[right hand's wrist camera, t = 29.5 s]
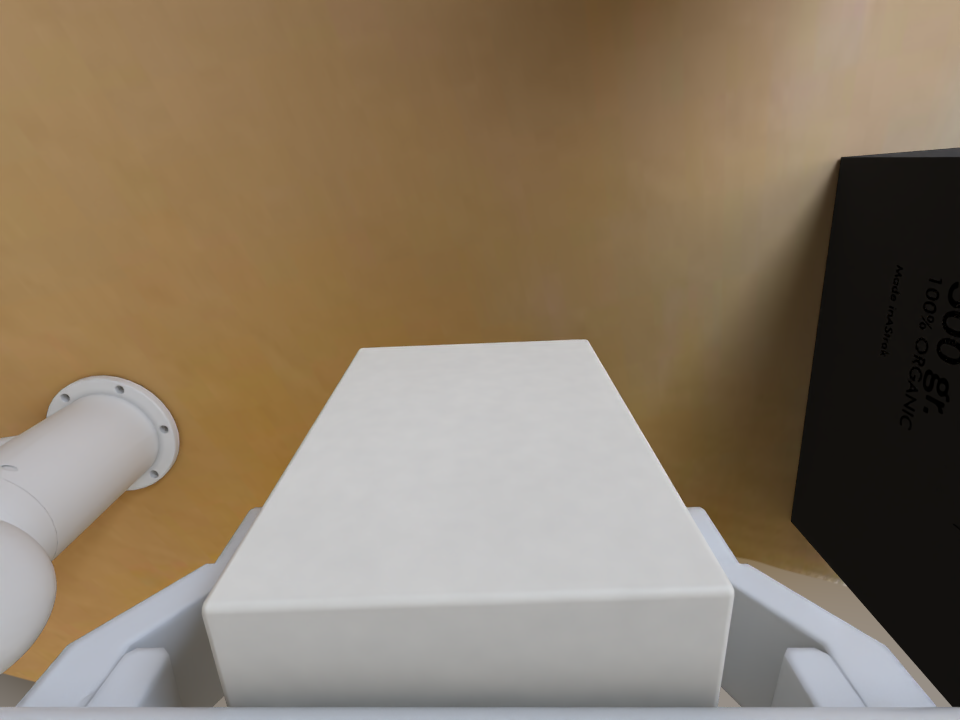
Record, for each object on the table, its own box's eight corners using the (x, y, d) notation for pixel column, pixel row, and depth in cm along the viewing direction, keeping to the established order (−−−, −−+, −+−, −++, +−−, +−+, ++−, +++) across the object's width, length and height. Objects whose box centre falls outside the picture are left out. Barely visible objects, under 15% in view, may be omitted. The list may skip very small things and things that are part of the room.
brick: (588, 337, 13) (738, 589, 5) (582, 528, 15) (689, 912, 7) (358, 346, 13) (195, 607, 6) (381, 535, 15) (283, 923, 7)
